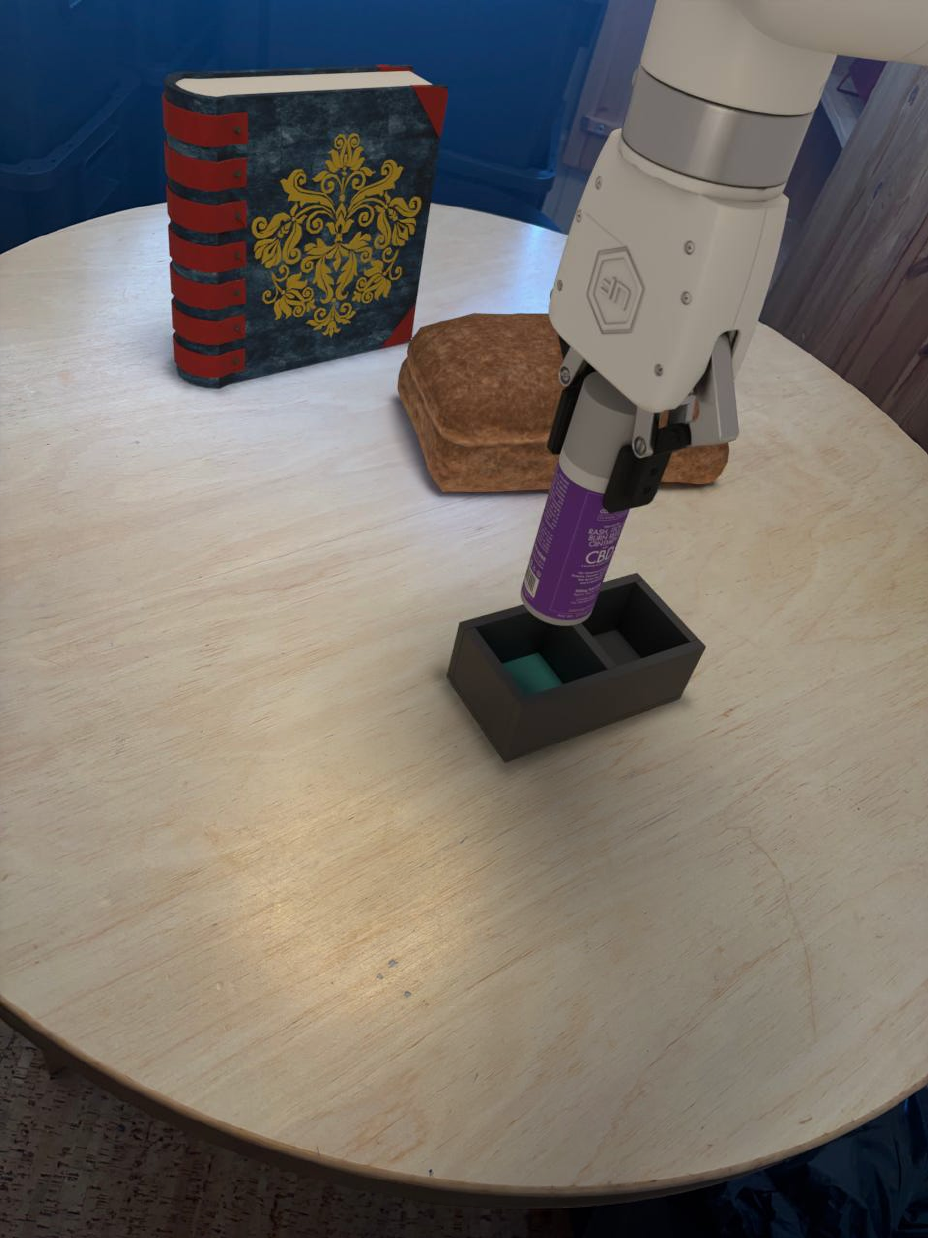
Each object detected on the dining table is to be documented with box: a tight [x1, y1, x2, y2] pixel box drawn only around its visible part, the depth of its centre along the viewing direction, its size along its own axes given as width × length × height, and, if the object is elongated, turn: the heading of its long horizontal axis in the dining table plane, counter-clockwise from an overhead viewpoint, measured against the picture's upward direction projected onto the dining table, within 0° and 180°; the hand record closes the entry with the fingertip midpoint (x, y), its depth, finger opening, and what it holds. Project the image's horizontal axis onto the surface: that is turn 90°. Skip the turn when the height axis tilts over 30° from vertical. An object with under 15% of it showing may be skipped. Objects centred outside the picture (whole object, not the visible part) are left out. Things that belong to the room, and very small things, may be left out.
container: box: [520, 371, 663, 626], centre depth 55 cm, size 5×5×15 cm
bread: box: [397, 312, 730, 493], centre depth 87 cm, size 17×29×11 cm, turn 106°
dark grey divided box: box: [446, 572, 707, 763], centre depth 66 cm, size 8×15×6 cm, turn 119°
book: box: [161, 63, 449, 389], centre depth 86 cm, size 25×7×25 cm, turn 129°
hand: (598, 473), depth 53 cm, fingers closed on container, 4 cm apart
